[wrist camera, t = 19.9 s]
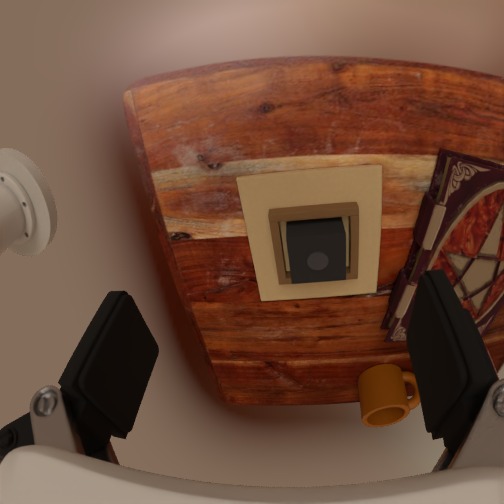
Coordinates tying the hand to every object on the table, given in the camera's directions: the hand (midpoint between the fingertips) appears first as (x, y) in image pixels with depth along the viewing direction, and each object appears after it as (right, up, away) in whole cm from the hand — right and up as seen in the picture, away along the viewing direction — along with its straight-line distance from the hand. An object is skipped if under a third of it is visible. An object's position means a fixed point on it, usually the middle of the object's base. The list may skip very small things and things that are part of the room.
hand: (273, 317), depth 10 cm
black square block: (+7, +3, +28) cm, 29 cm away
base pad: (+7, +4, +29) cm, 30 cm away
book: (+30, +1, +28) cm, 40 cm away
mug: (+25, -21, +44) cm, 55 cm away
